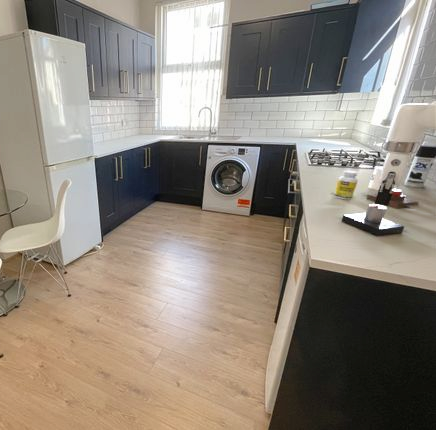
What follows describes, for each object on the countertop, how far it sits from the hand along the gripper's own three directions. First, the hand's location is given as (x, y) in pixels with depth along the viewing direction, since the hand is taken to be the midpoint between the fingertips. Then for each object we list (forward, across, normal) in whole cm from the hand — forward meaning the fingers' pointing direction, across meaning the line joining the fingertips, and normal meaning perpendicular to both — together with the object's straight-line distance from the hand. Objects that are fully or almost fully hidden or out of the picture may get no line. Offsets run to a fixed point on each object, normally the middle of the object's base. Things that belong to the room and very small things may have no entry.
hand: (382, 200), depth 91 cm
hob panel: (+10, 0, +1) cm, 10 cm away
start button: (+6, +37, -4) cm, 38 cm away
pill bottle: (+10, +32, +12) cm, 36 cm away
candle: (+10, +57, +2) cm, 58 cm away
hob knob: (+7, 0, +1) cm, 7 cm away
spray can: (+10, +75, -10) cm, 76 cm away
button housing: (+10, +37, -4) cm, 39 cm away
